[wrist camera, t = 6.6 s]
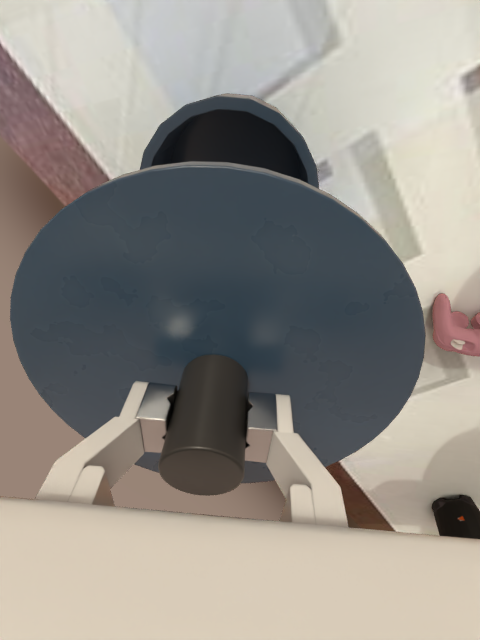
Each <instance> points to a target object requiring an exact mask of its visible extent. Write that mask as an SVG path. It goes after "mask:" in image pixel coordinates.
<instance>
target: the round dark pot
mask: <svg viewBox="0 0 480 640" xmlns="http://www.w3.org/2000/svg"><path fill="white" fill-rule="evenodd" d="M190 161H196V162H229V163H235V164H241V165H247V166H253V167H259V168H265V169H268V170H271V171H274V172H277V173H281V174H284V175H287V176H290V177H293V178H296V179H299V180H301V181H304V182H306V183H308V184H310V185H312V186H314V187H316V188H318V189H319V184H318V175H317V168H316V164H315V162H314V160H313V158H312V155H311V153H310V151H309V149H308V147H307V144H306V142H305V140H304V138H303V137H302V135H301V134H300V133H299V132H298V131H297V129H296V128H295V127H294V126H293V125H292V124H291V123H290V122H289V121H288V120H287V118H286V117H285V116H284V115H283V114H282V113H281V112H280V111H279V110H278V109H277V108H276V107H274V106H272V105H270V104H268V103H266V102H264V101H262V100H260V99H258V98H256V97H254V96H250V95H240V94H228V93H227V94H221V95H217V96H214V97H210V98H207V99H203V100H200V101H197V102H193V103H190V104H187V105H185V106H183V107H182V108H181V109H180V110H178V111H177V112H176V113H174V114H173V115H172V116H171V117H169V118H168V119H167V120H166V121H164V122H163V123H162V124H161V125H160V126H159V127H158V129H157V131H156V132H155V134H154V136H153V137H152V139H151V141H150V142H149V144H148V145H147V147H146V149H145V150H144V153H143V158H142V162H141V167H140V170H142V169H145V168H149V167H152V166H157V165H165V164H173V163H182V162H190Z"/></svg>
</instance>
